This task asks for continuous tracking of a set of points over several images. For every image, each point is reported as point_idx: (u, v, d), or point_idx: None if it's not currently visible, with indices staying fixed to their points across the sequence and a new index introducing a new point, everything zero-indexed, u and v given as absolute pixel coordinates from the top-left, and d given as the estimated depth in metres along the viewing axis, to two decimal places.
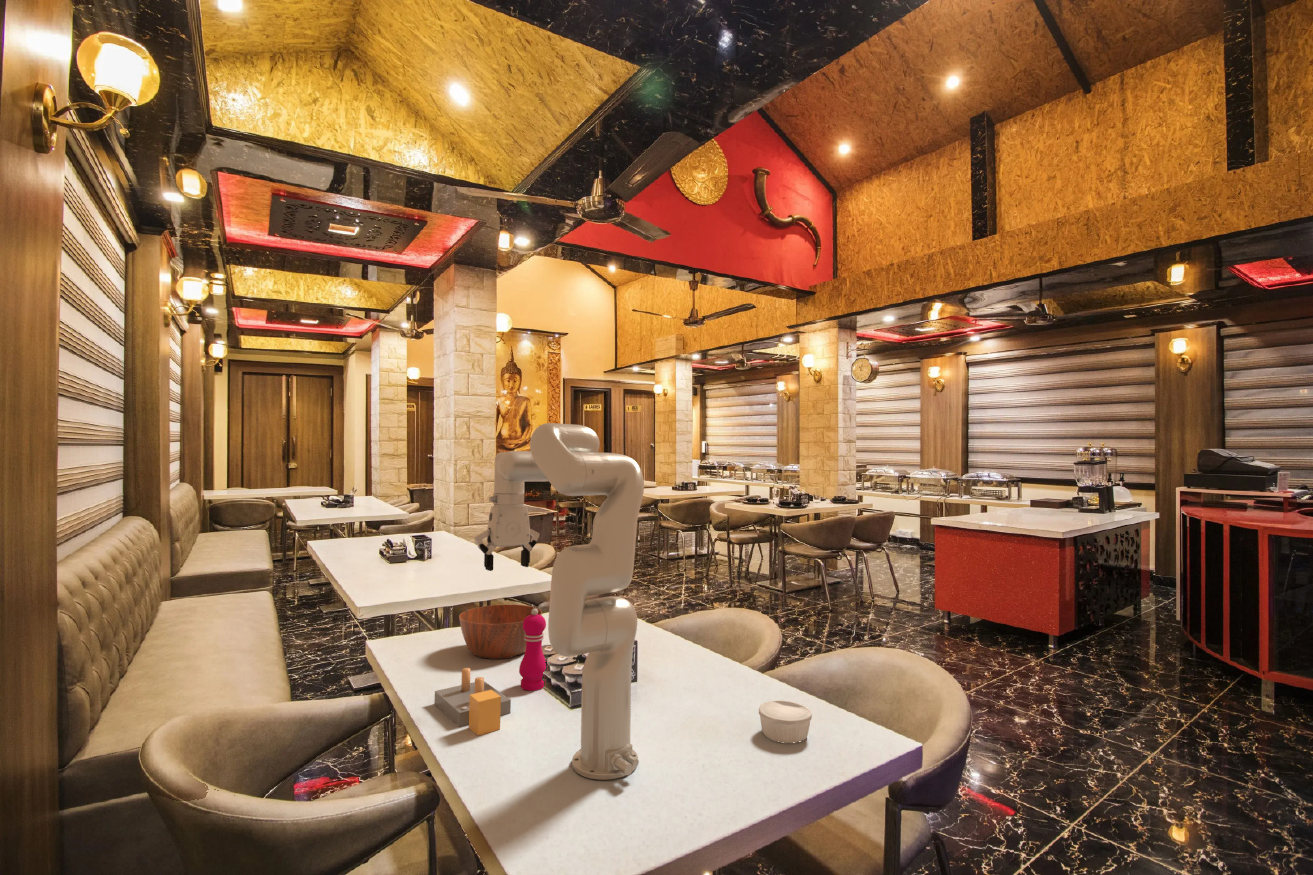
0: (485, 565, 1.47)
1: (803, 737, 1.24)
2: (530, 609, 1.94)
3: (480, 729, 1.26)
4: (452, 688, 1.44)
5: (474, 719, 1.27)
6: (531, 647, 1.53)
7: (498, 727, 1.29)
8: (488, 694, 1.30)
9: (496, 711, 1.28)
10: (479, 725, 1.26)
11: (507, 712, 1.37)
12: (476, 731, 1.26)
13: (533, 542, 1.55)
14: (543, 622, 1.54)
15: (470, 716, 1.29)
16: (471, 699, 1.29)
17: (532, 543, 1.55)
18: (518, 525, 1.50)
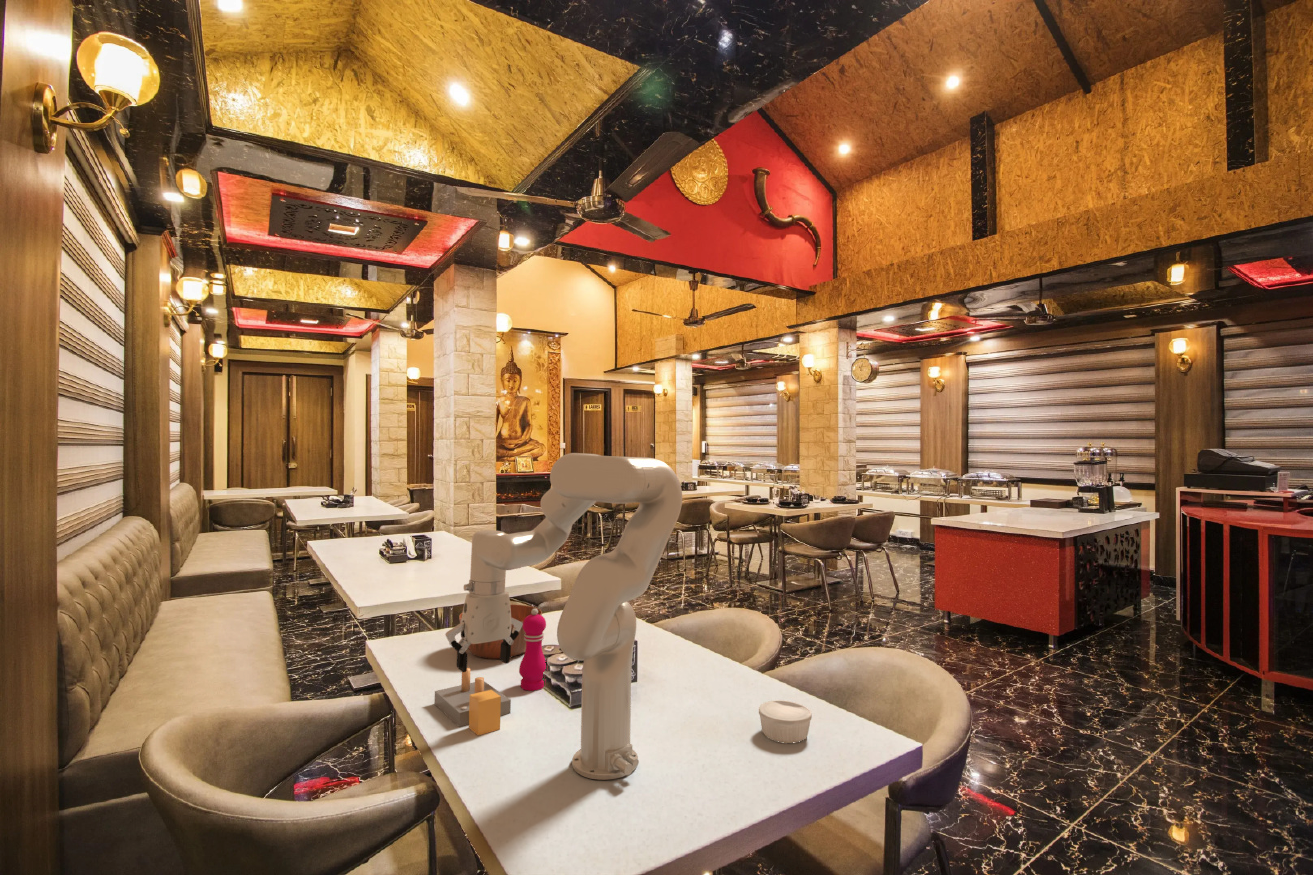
0: (457, 665, 1.27)
1: (803, 737, 1.24)
2: (530, 609, 1.94)
3: (480, 729, 1.26)
4: (452, 688, 1.44)
5: (474, 719, 1.27)
6: (531, 647, 1.53)
7: (498, 727, 1.29)
8: (488, 694, 1.30)
9: (496, 711, 1.28)
10: (479, 725, 1.26)
11: (507, 712, 1.37)
12: (476, 731, 1.26)
13: (515, 633, 1.34)
14: (543, 622, 1.54)
15: (470, 716, 1.29)
16: (471, 699, 1.29)
17: (514, 635, 1.34)
18: (497, 617, 1.29)
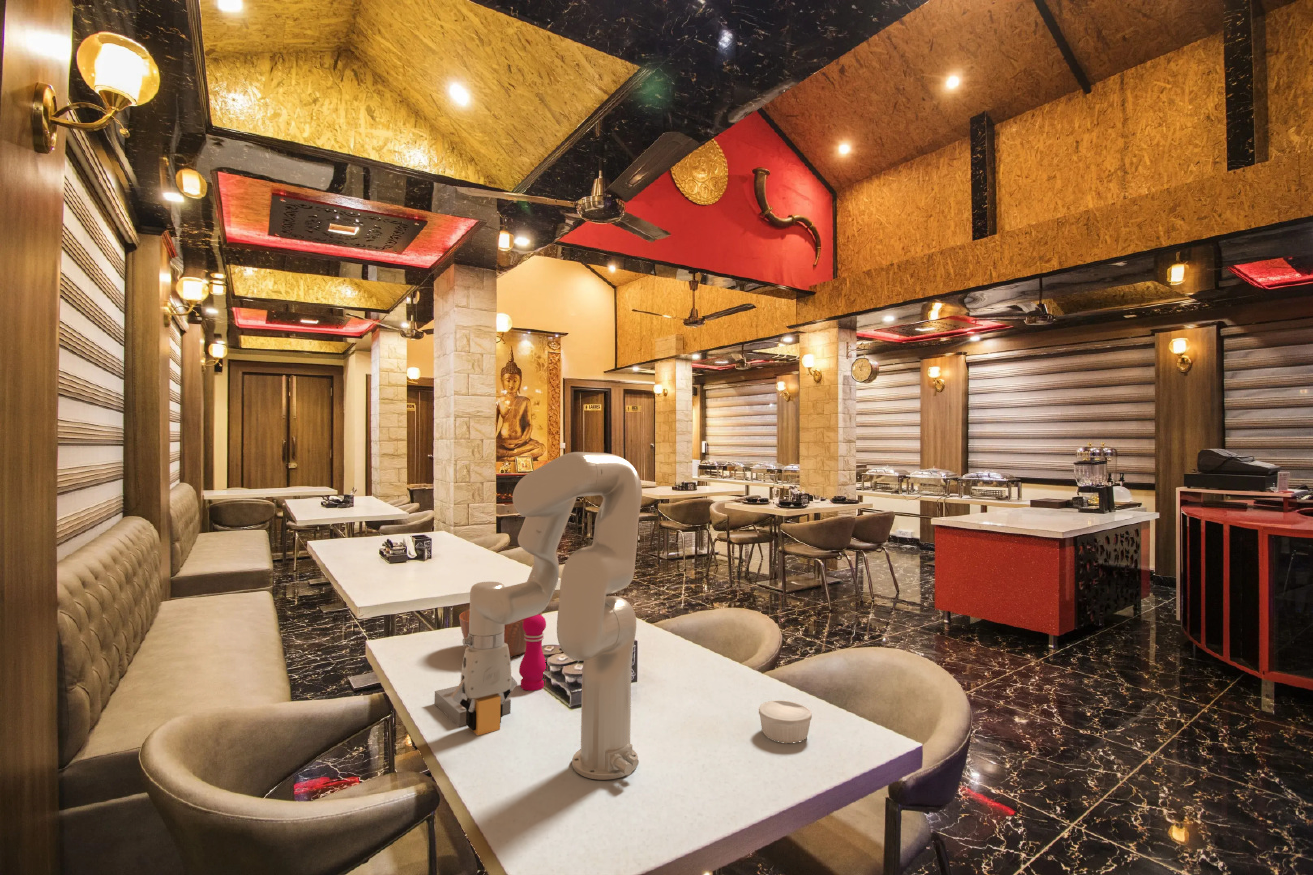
0: (467, 723, 1.27)
1: (803, 737, 1.24)
2: None
3: (480, 729, 1.26)
4: (452, 688, 1.44)
5: None
6: (531, 647, 1.53)
7: (498, 727, 1.29)
8: None
9: (496, 711, 1.28)
10: (479, 725, 1.26)
11: (507, 712, 1.37)
12: (476, 731, 1.26)
13: (506, 692, 1.32)
14: (543, 622, 1.54)
15: None
16: None
17: (505, 693, 1.32)
18: (497, 670, 1.29)
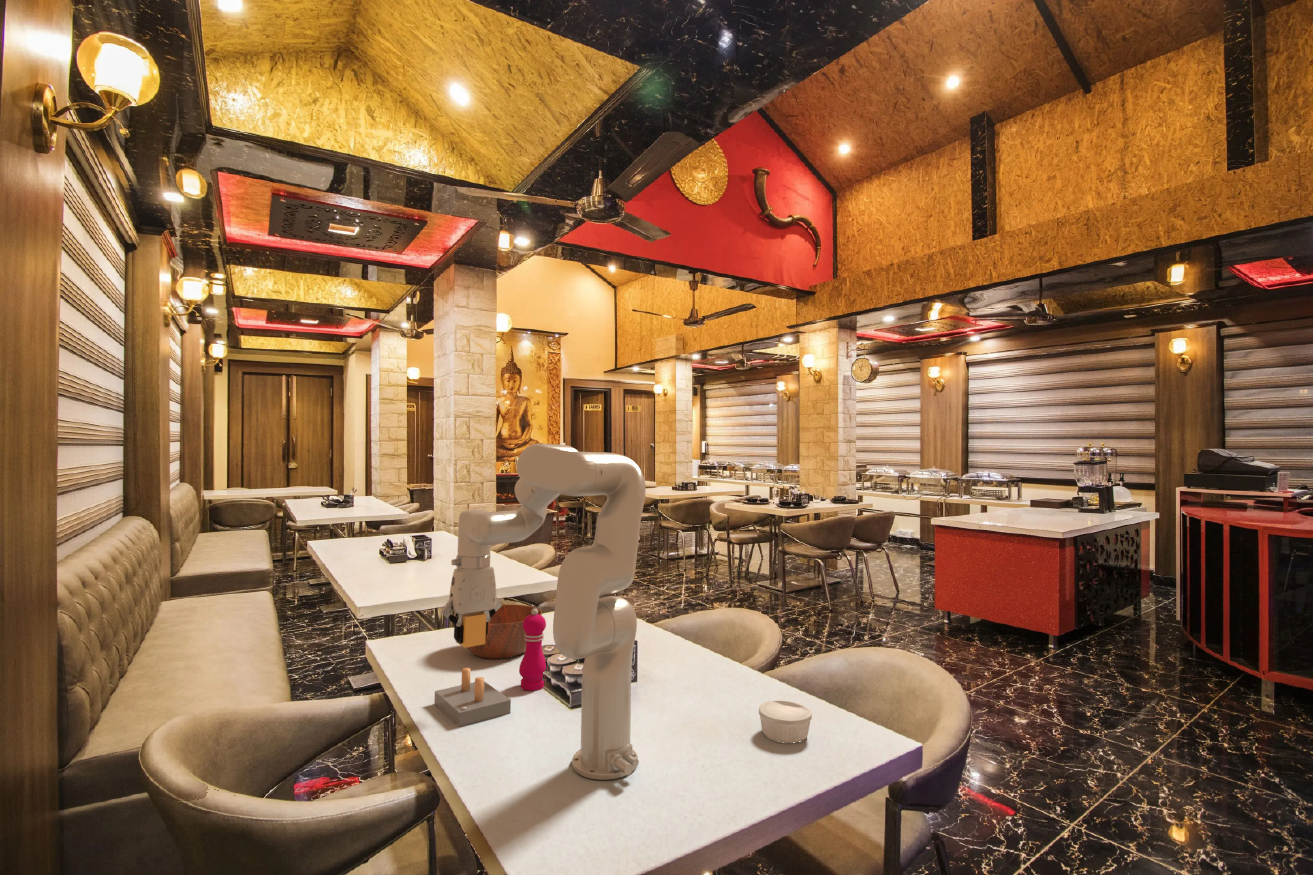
0: (455, 637, 1.38)
1: (803, 737, 1.24)
2: (530, 609, 1.94)
3: (467, 642, 1.37)
4: (452, 688, 1.44)
5: None
6: (531, 647, 1.53)
7: (483, 642, 1.40)
8: None
9: (481, 627, 1.39)
10: (466, 638, 1.37)
11: (507, 712, 1.37)
12: (463, 644, 1.37)
13: (492, 611, 1.43)
14: (543, 622, 1.54)
15: None
16: None
17: (491, 613, 1.43)
18: (483, 590, 1.39)
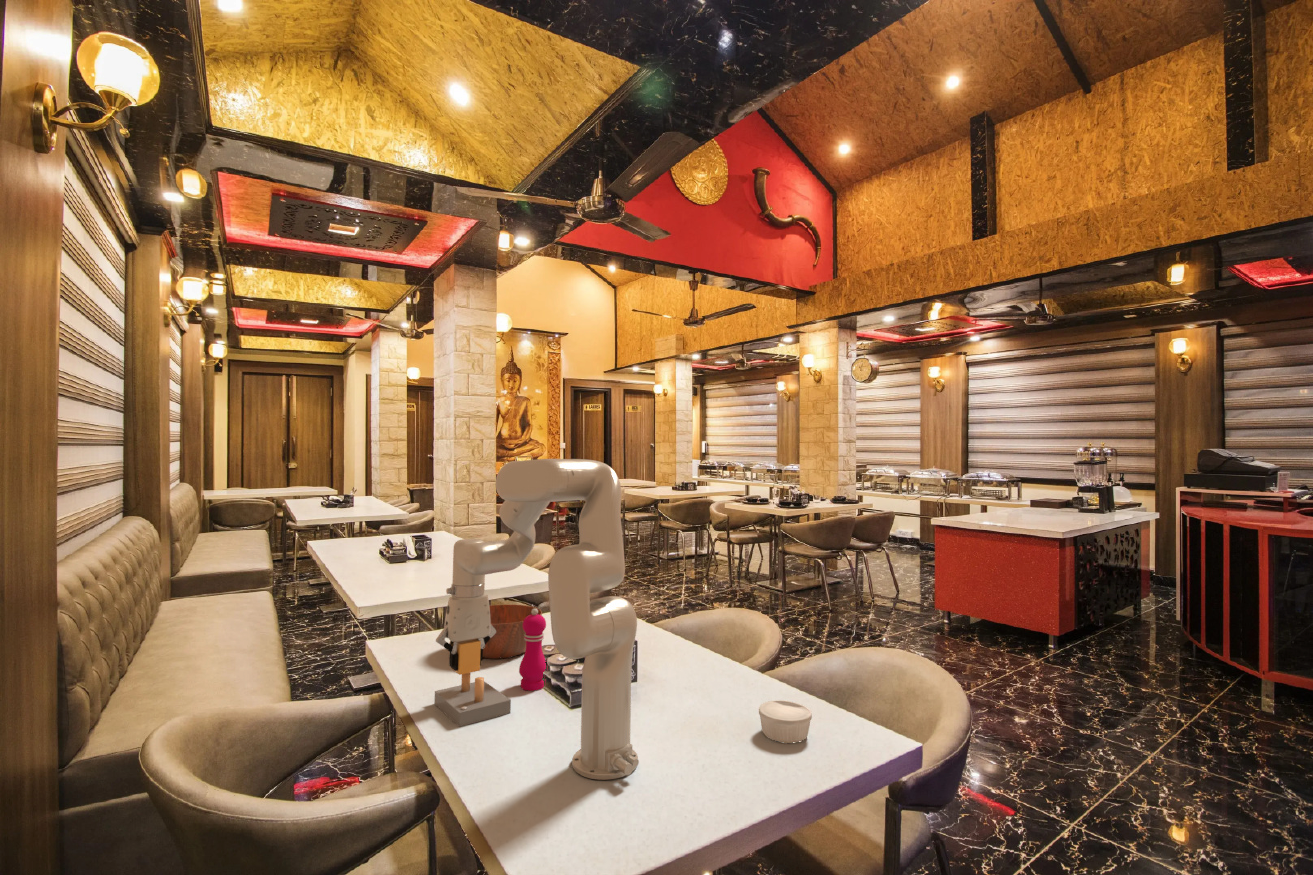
0: (450, 664, 1.41)
1: (803, 737, 1.24)
2: (530, 609, 1.94)
3: (462, 669, 1.40)
4: (452, 688, 1.44)
5: None
6: (531, 647, 1.53)
7: (478, 668, 1.43)
8: None
9: (476, 654, 1.43)
10: (461, 665, 1.40)
11: (507, 712, 1.37)
12: (458, 671, 1.40)
13: (486, 638, 1.46)
14: (543, 622, 1.54)
15: None
16: None
17: (485, 639, 1.46)
18: (477, 617, 1.43)
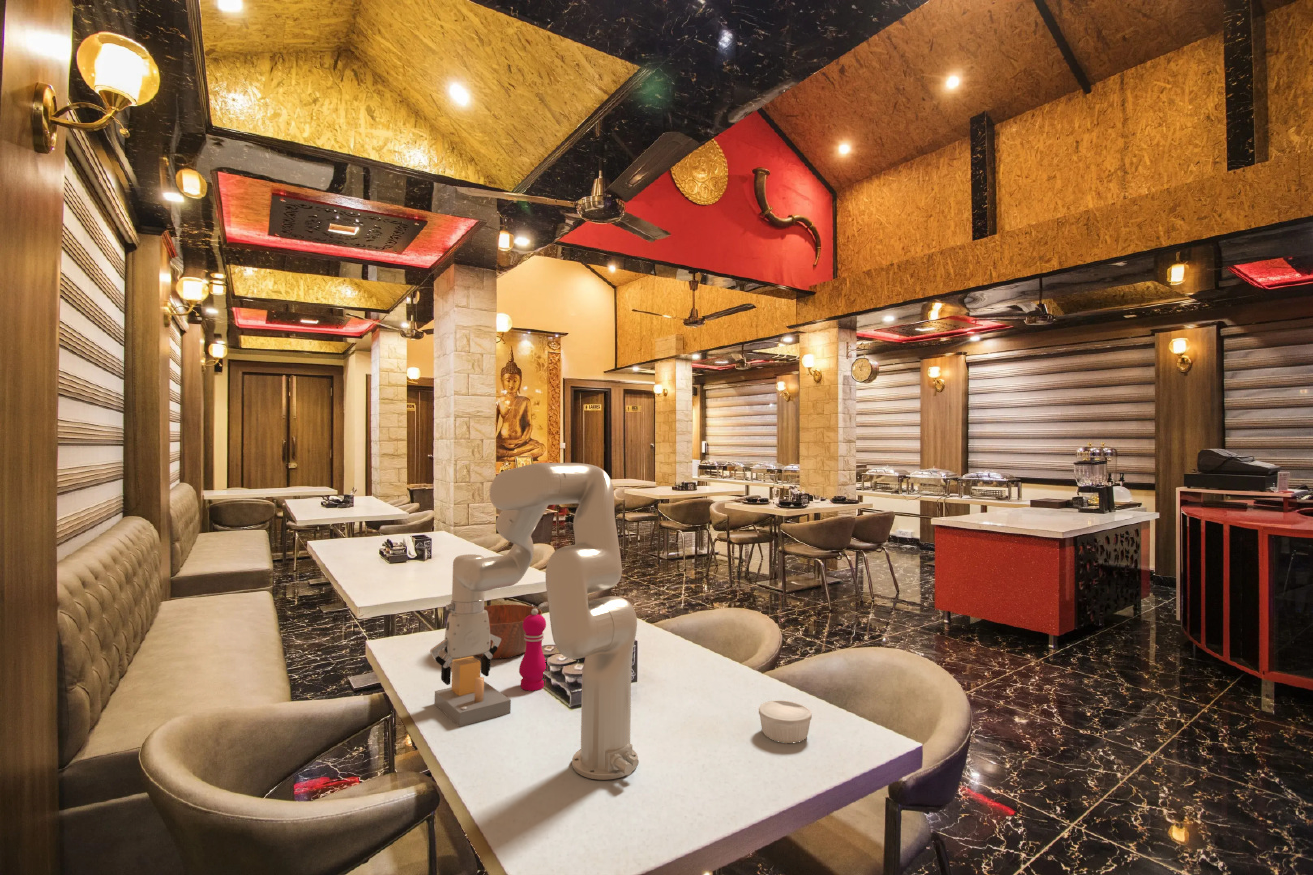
0: (442, 678, 1.40)
1: (803, 737, 1.24)
2: (530, 609, 1.94)
3: (462, 690, 1.40)
4: None
5: (456, 681, 1.41)
6: (531, 647, 1.53)
7: None
8: (469, 660, 1.44)
9: (476, 674, 1.42)
10: (460, 686, 1.40)
11: (507, 712, 1.37)
12: (458, 692, 1.40)
13: (494, 648, 1.47)
14: (543, 622, 1.54)
15: (453, 679, 1.43)
16: (453, 664, 1.43)
17: (493, 650, 1.47)
18: (477, 633, 1.42)
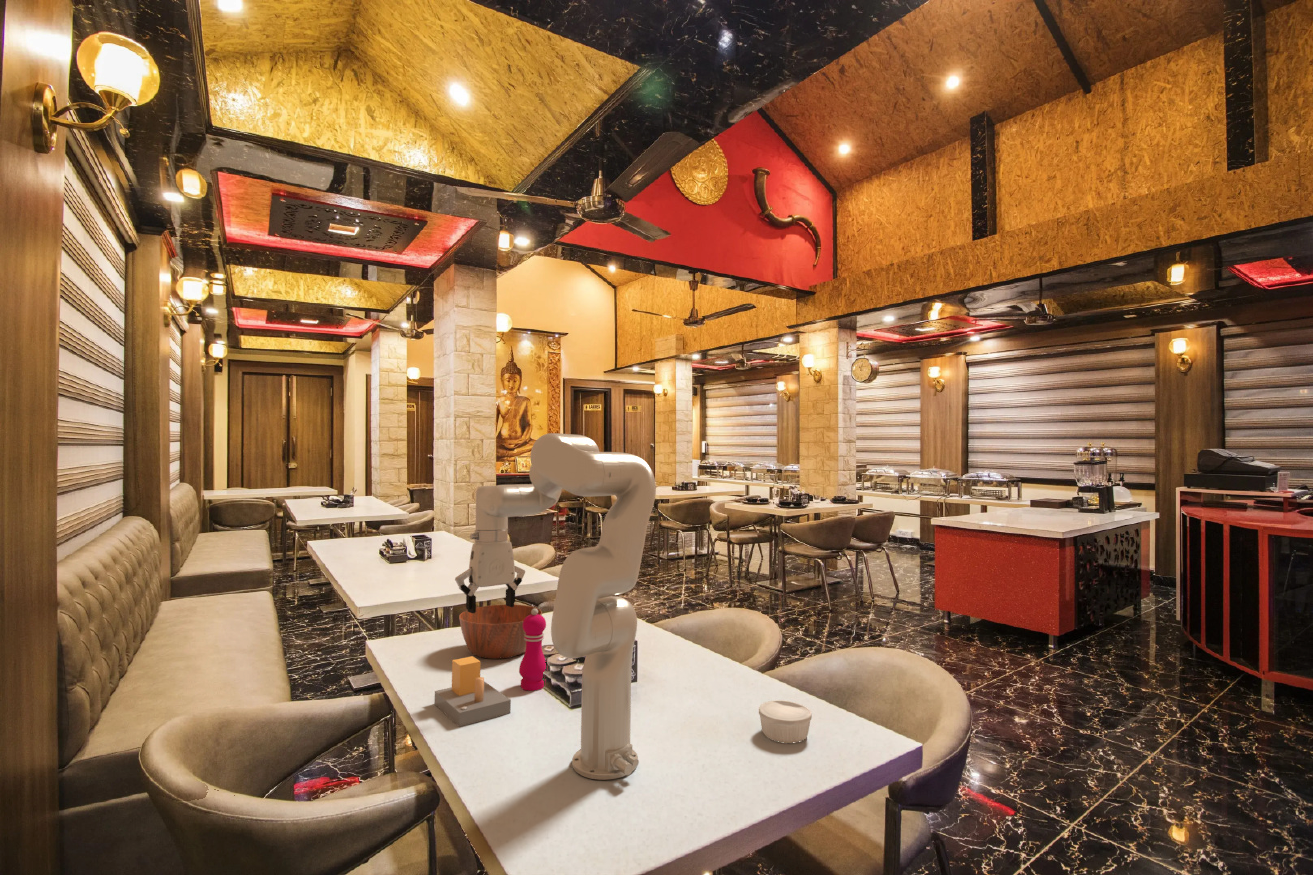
0: (467, 607, 1.38)
1: (803, 737, 1.24)
2: (530, 609, 1.94)
3: (462, 690, 1.40)
4: None
5: (456, 681, 1.41)
6: (531, 647, 1.53)
7: None
8: (469, 660, 1.44)
9: (476, 674, 1.42)
10: (460, 686, 1.40)
11: (507, 712, 1.37)
12: (458, 692, 1.40)
13: (518, 580, 1.46)
14: (543, 622, 1.54)
15: (453, 679, 1.43)
16: (453, 664, 1.43)
17: (517, 581, 1.46)
18: (502, 563, 1.41)
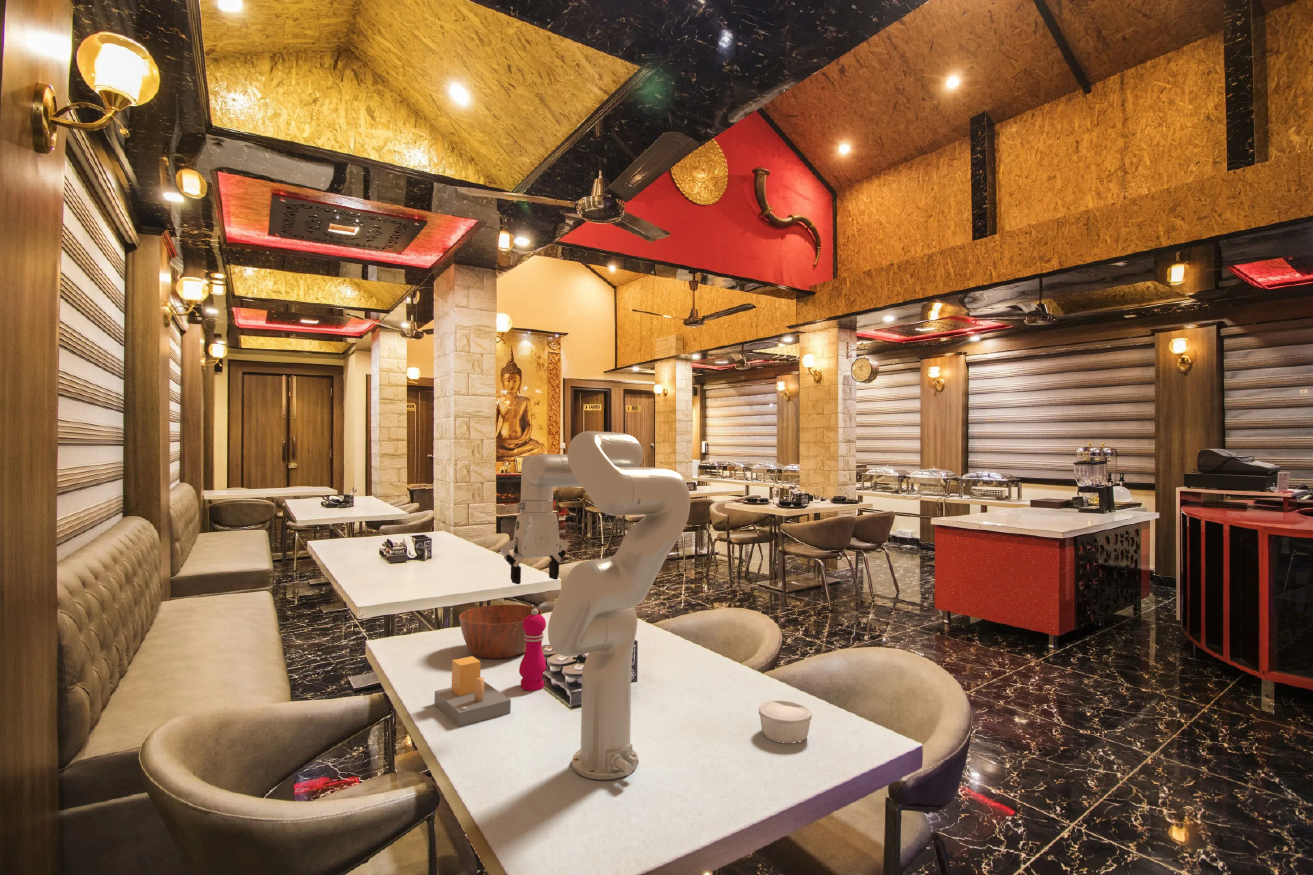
0: (512, 578, 1.35)
1: (803, 737, 1.24)
2: (530, 609, 1.94)
3: (462, 690, 1.40)
4: None
5: (456, 681, 1.41)
6: (531, 647, 1.53)
7: None
8: (469, 660, 1.44)
9: (476, 674, 1.42)
10: (460, 686, 1.40)
11: (507, 712, 1.37)
12: (458, 692, 1.40)
13: (562, 552, 1.43)
14: (543, 622, 1.54)
15: (453, 679, 1.43)
16: (453, 664, 1.43)
17: (561, 553, 1.43)
18: (547, 534, 1.38)
